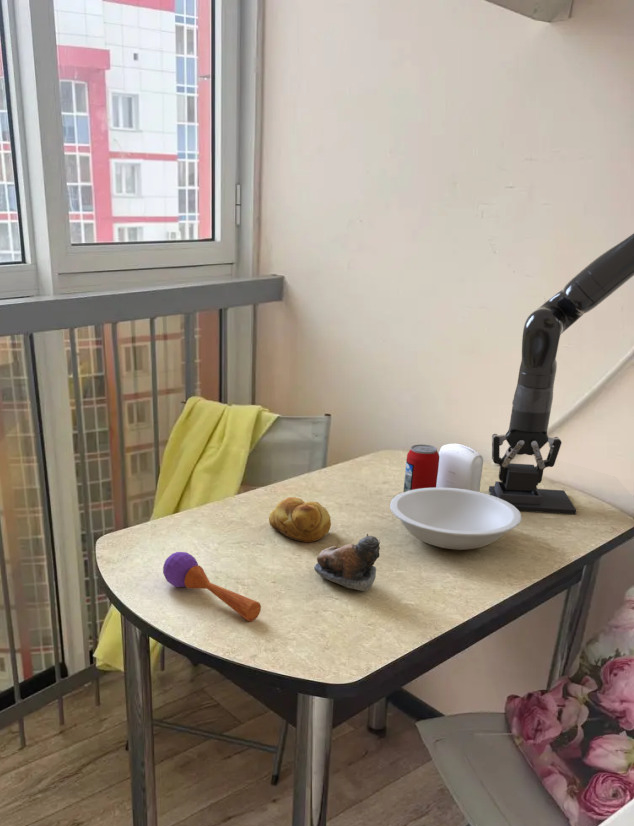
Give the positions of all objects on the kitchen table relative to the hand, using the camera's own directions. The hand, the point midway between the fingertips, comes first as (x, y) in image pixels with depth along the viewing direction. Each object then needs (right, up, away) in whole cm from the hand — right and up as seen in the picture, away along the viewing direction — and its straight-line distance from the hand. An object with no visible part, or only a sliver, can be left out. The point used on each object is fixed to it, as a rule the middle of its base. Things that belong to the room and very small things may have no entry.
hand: (519, 483), depth 166 cm
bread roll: (-49, -11, -15) cm, 52 cm away
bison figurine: (-42, -20, -34) cm, 58 cm away
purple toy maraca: (-66, -22, -39) cm, 80 cm away
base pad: (+3, -4, +1) cm, 5 cm away
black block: (0, -1, 0) cm, 1 cm away
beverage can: (-21, -4, +2) cm, 22 cm away
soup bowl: (-20, -13, -18) cm, 29 cm away
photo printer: (-13, -4, +2) cm, 14 cm away
